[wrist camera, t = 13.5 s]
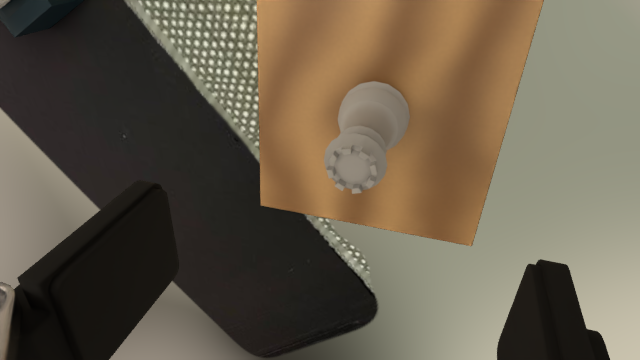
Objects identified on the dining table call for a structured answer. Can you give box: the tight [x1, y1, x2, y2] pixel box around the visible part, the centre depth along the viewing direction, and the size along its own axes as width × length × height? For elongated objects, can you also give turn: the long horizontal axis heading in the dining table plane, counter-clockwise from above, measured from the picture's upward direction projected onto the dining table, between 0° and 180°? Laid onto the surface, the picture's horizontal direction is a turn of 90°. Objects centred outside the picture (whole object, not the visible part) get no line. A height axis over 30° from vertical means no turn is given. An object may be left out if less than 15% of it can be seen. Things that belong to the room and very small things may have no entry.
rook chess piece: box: [324, 81, 410, 194], centre depth 25 cm, size 4×4×8 cm
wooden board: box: [257, 0, 544, 246], centre depth 28 cm, size 16×20×1 cm
